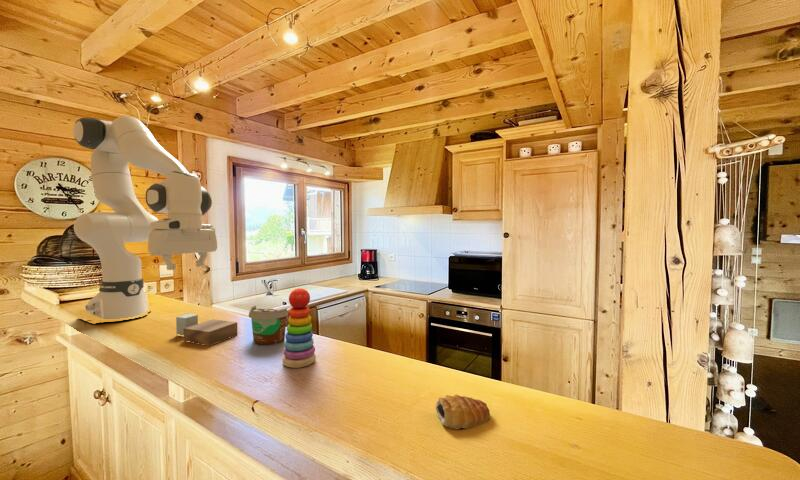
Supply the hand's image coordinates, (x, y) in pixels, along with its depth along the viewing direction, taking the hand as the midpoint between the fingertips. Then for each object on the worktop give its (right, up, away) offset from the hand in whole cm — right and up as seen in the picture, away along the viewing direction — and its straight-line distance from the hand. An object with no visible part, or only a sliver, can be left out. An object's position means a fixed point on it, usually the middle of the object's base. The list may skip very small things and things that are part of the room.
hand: (186, 267), depth 100 cm
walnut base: (+9, -21, -3) cm, 23 cm away
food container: (+27, -22, -6) cm, 35 cm away
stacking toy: (+42, -22, -20) cm, 51 cm away
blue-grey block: (0, -21, +1) cm, 21 cm away
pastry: (+78, -23, -43) cm, 92 cm away
